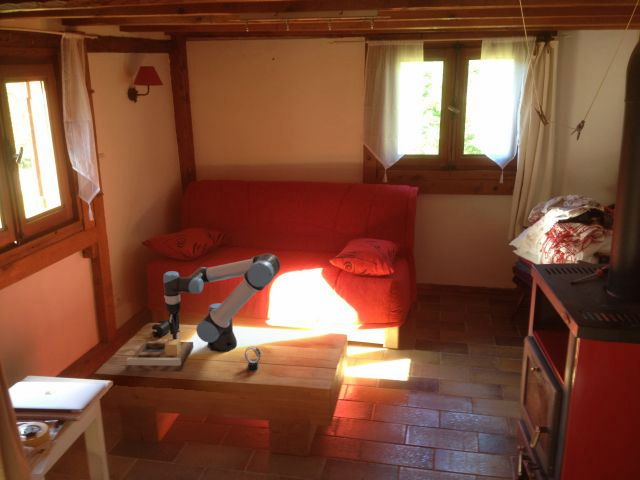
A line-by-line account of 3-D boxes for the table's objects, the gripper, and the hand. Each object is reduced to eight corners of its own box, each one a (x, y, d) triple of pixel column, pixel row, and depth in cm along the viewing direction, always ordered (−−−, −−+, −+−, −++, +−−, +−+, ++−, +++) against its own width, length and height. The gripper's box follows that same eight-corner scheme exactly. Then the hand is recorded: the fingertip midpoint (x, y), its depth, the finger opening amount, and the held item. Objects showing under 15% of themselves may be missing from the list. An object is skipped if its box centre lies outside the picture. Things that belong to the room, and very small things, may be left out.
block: (181, 350, 301) (180, 339, 300) (177, 355, 296) (176, 344, 294) (169, 349, 302) (168, 339, 300) (165, 355, 296) (164, 344, 294)
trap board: (193, 347, 311) (192, 336, 310) (180, 371, 286) (179, 359, 285) (144, 346, 312) (143, 336, 311) (127, 370, 287) (126, 359, 286)
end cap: (163, 338, 322) (162, 327, 320) (152, 337, 324) (151, 325, 322) (173, 331, 331) (172, 319, 329) (162, 329, 333) (161, 318, 331)
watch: (261, 370, 286) (260, 350, 283) (244, 370, 286) (243, 350, 283) (262, 365, 292) (261, 344, 289) (246, 365, 292) (245, 344, 289)
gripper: (169, 296, 303) (172, 338, 309) (161, 306, 290) (164, 350, 297) (183, 297, 302) (186, 339, 309) (176, 307, 290) (179, 350, 296)
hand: (175, 344), depth 303 cm, fingers closed
